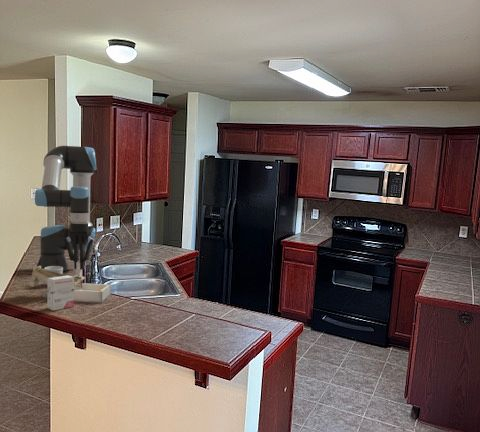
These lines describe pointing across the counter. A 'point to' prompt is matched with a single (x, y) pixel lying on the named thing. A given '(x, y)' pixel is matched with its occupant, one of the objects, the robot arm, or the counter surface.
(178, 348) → the counter surface
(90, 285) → the dish
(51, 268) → the cup
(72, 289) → the ink box
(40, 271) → the lever
